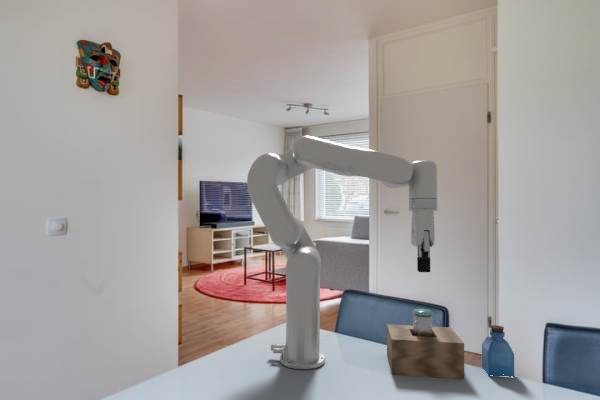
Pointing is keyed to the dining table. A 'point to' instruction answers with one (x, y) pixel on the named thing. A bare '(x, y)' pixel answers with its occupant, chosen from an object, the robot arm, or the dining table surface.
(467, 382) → the dining table surface
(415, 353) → the housing
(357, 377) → the dining table surface
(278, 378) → the dining table surface
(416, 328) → the plunger
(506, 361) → the perfume bottle
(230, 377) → the dining table surface
